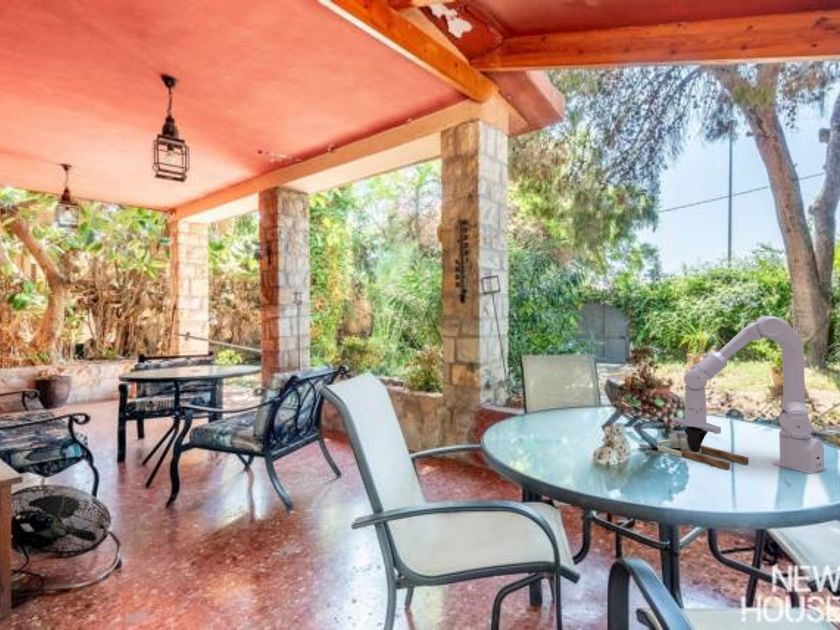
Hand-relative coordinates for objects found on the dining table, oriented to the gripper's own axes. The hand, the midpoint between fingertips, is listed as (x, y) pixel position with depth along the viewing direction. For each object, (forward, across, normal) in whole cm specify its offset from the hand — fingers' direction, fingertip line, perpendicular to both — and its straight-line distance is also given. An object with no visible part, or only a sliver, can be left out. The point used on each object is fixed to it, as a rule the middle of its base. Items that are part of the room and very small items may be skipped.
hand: (696, 451), depth 145 cm
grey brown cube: (+1, -2, +1) cm, 2 cm away
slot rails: (+1, +6, 0) cm, 6 cm away
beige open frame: (+1, -6, 0) cm, 7 cm away
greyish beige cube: (+1, -6, +2) cm, 7 cm away
